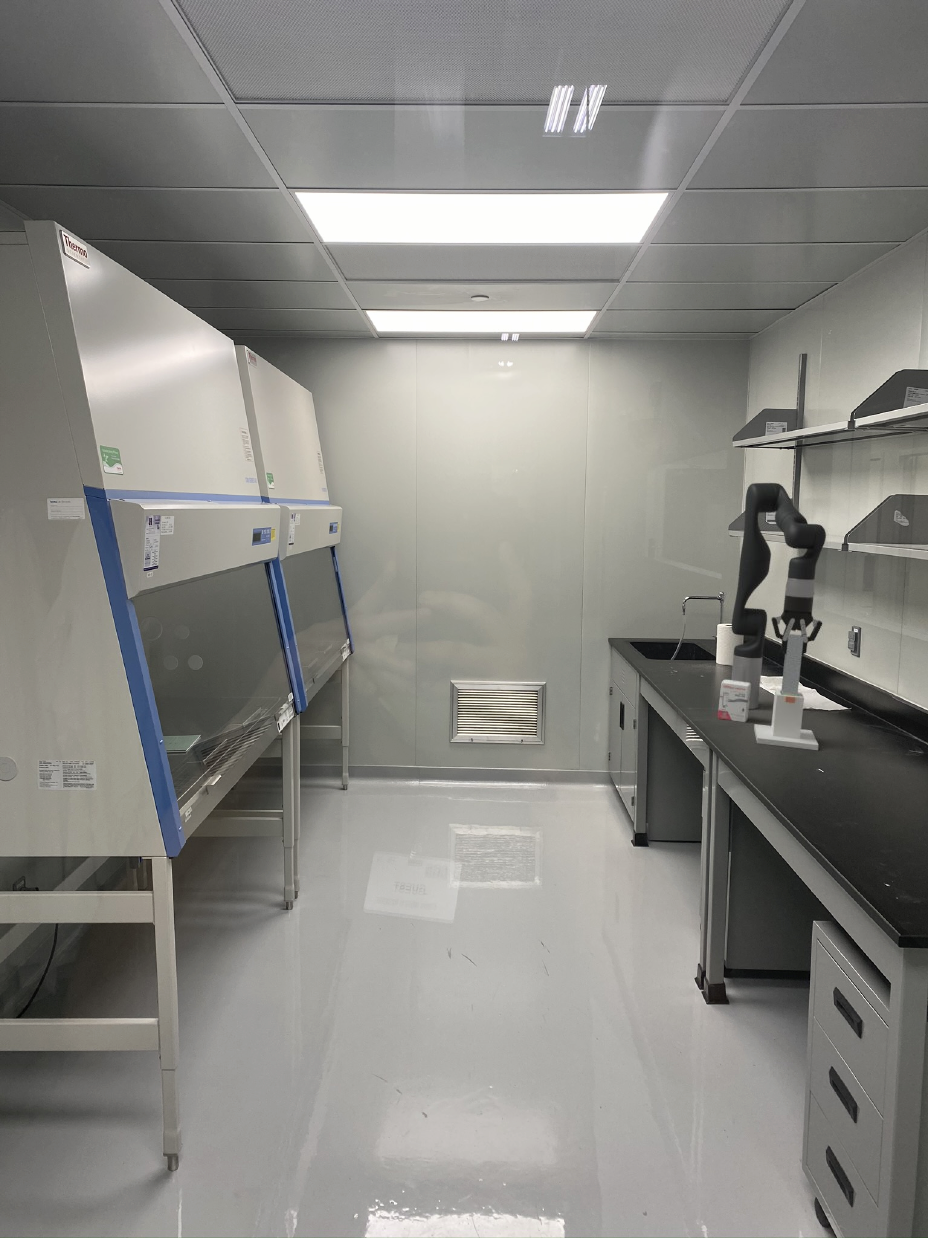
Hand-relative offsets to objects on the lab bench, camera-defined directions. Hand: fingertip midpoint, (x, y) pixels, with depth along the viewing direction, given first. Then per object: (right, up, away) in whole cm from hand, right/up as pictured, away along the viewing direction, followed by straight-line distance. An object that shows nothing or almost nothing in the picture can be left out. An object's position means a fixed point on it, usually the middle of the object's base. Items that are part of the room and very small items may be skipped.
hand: (793, 653), depth 232 cm
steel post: (-1, -16, +2) cm, 17 cm away
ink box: (-9, -22, +25) cm, 34 cm away
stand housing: (-1, -25, +4) cm, 25 cm away
